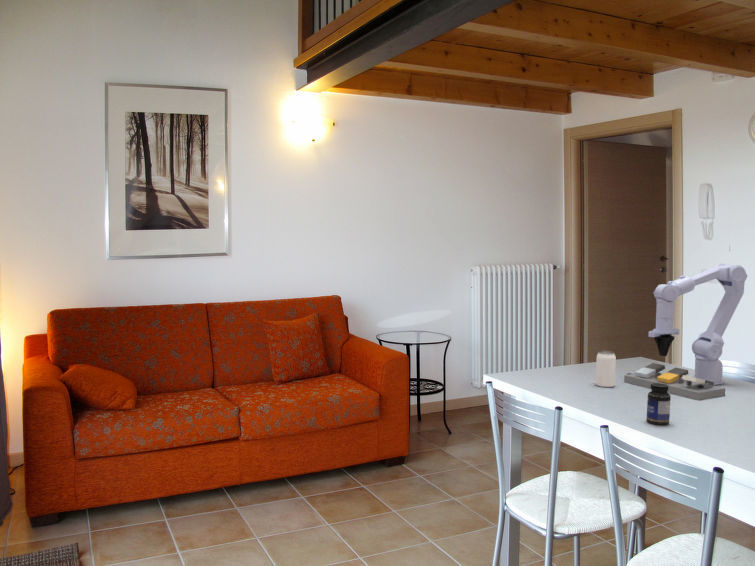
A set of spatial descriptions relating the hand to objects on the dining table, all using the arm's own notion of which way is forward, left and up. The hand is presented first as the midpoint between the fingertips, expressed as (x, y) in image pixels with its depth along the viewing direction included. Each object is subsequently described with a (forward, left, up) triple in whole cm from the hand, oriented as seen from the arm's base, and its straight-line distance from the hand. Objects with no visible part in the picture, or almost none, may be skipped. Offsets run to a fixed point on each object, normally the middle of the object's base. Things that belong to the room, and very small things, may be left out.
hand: (663, 355), depth 246 cm
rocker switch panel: (+3, +4, -10) cm, 11 cm away
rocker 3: (+3, +16, -7) cm, 17 cm away
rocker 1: (+3, -3, -7) cm, 8 cm away
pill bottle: (+44, +32, -11) cm, 55 cm away
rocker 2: (+3, +6, -7) cm, 9 cm away
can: (+21, -8, -11) cm, 24 cm away
